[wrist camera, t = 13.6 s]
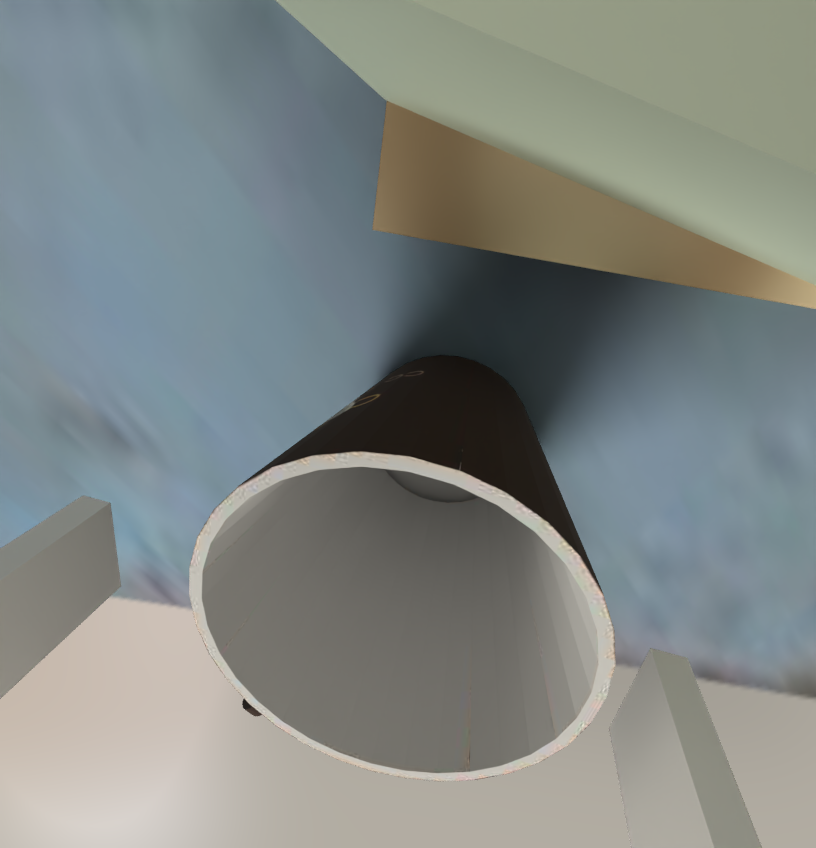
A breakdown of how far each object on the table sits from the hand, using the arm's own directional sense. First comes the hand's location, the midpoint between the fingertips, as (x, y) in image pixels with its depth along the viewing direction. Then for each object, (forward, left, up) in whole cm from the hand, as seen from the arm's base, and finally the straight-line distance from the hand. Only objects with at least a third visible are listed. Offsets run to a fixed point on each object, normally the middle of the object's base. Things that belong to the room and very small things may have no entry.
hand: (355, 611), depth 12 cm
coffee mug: (0, 0, -9) cm, 9 cm away
